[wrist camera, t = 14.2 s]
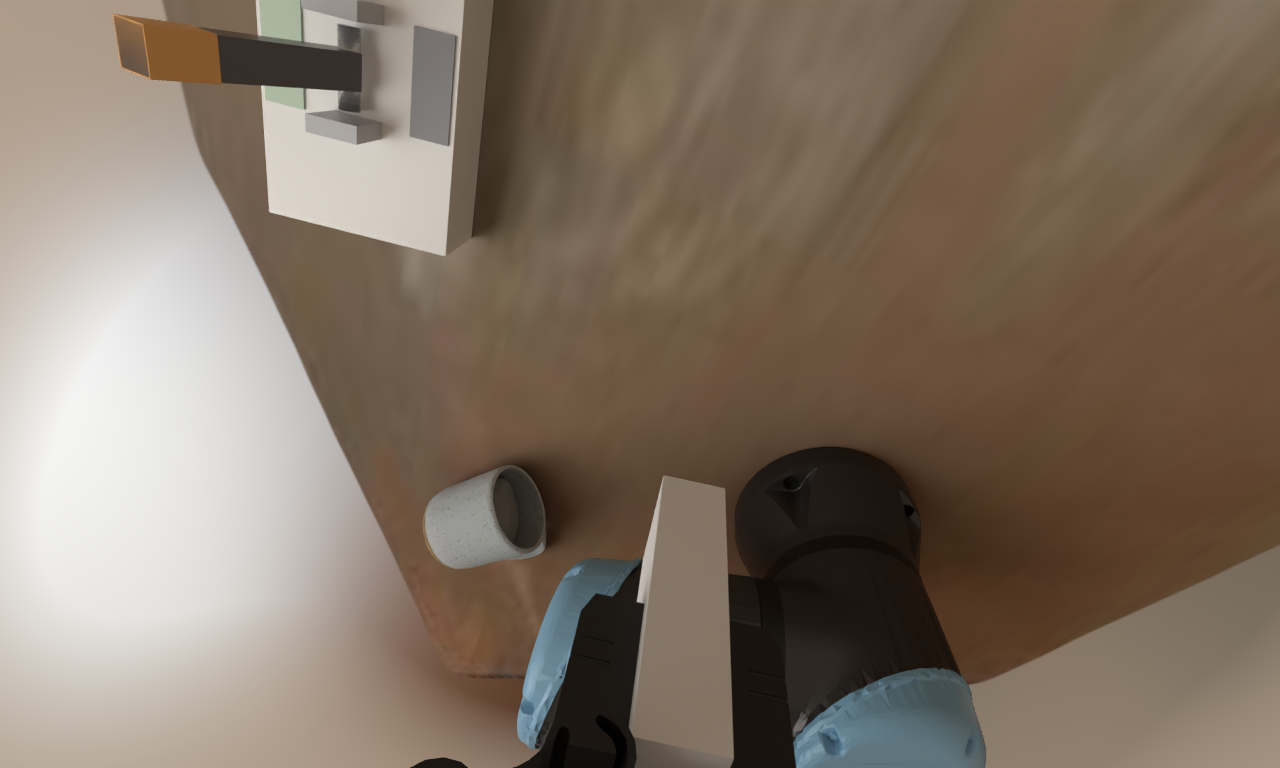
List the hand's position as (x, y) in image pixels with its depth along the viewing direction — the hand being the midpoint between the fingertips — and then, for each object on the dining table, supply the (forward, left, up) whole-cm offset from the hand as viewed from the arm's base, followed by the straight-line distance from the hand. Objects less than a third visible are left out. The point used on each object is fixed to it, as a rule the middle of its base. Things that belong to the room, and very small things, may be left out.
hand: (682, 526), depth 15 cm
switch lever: (+5, +22, -26) cm, 34 cm away
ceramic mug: (-29, +11, -32) cm, 44 cm away
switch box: (+5, +22, -32) cm, 39 cm away
